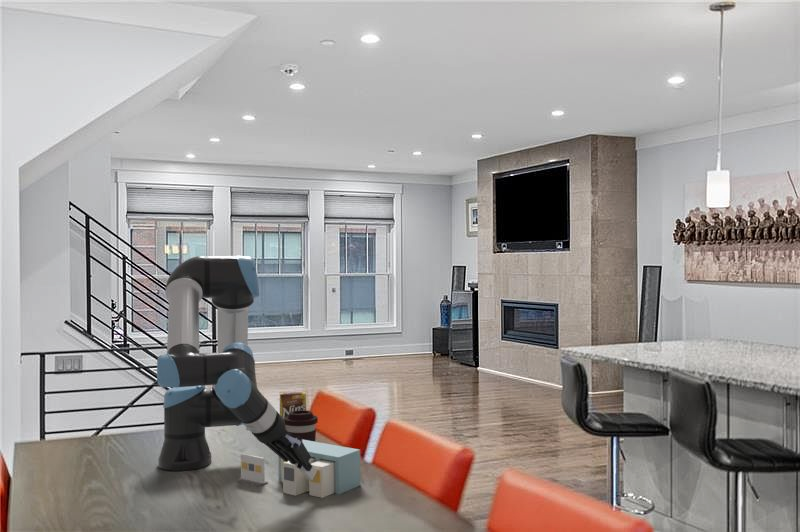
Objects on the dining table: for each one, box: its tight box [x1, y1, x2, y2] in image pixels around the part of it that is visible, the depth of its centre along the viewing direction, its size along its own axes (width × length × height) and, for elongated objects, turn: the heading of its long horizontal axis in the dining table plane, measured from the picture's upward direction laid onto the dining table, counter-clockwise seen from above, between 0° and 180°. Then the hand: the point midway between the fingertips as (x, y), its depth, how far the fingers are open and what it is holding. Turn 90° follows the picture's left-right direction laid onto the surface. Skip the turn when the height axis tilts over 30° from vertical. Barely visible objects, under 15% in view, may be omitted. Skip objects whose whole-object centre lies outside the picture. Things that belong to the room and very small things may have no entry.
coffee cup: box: [284, 409, 319, 442], centre depth 218 cm, size 10×10×15 cm
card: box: [237, 453, 269, 487], centre depth 199 cm, size 8×3×7 cm, turn 55°
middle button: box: [282, 457, 315, 497], centre depth 192 cm, size 4×10×8 cm, turn 145°
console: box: [278, 439, 362, 495], centre depth 198 cm, size 21×9×10 cm, turn 55°
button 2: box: [308, 459, 335, 499], centre depth 190 cm, size 4×10×8 cm, turn 145°
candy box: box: [279, 390, 307, 430], centre depth 250 cm, size 9×4×15 cm, turn 102°
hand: (312, 475), depth 185 cm, fingers closed
